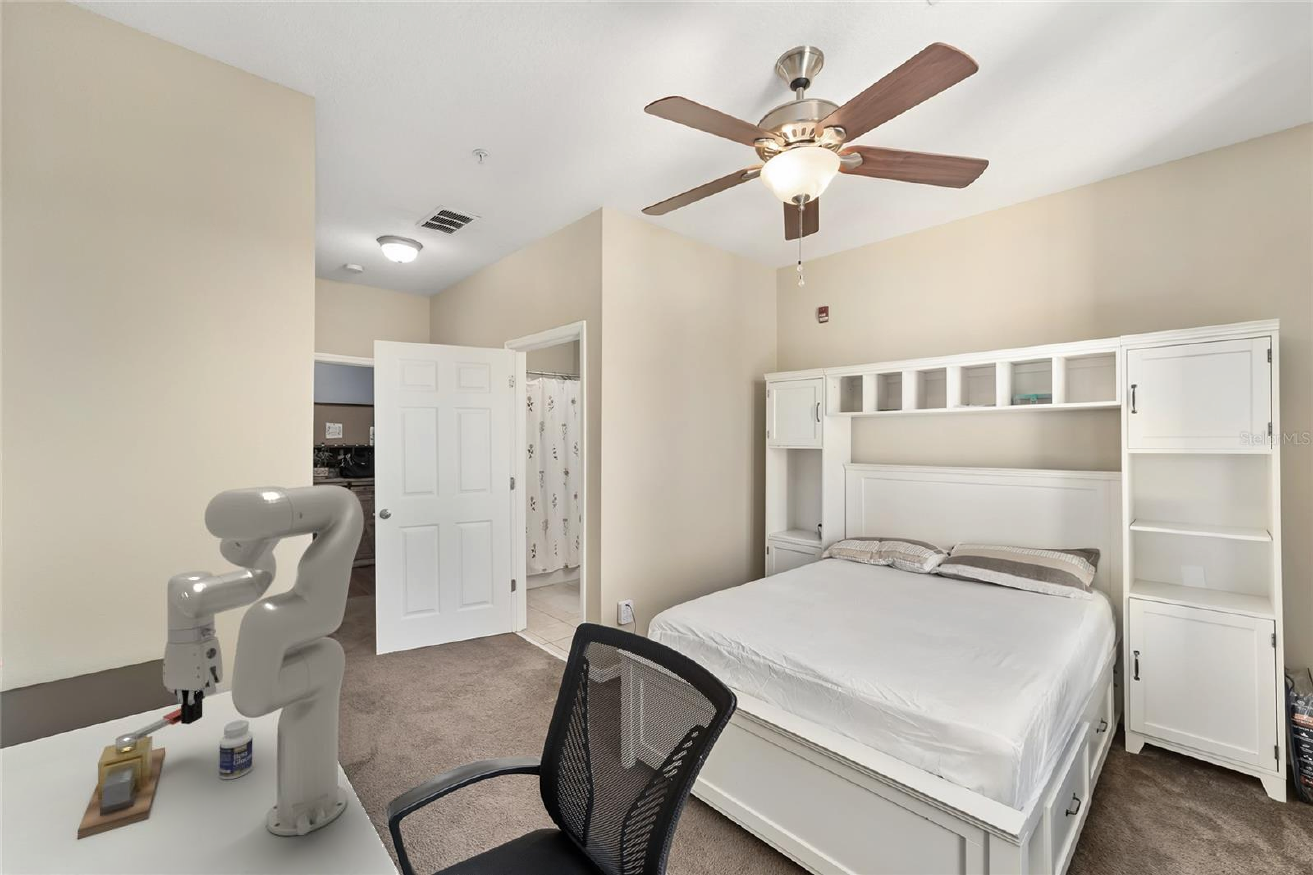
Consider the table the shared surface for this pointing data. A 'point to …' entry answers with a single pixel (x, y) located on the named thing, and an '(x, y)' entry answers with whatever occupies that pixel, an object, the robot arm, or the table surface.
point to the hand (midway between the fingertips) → (191, 720)
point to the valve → (123, 775)
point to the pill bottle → (235, 750)
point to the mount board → (138, 812)
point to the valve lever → (146, 731)
